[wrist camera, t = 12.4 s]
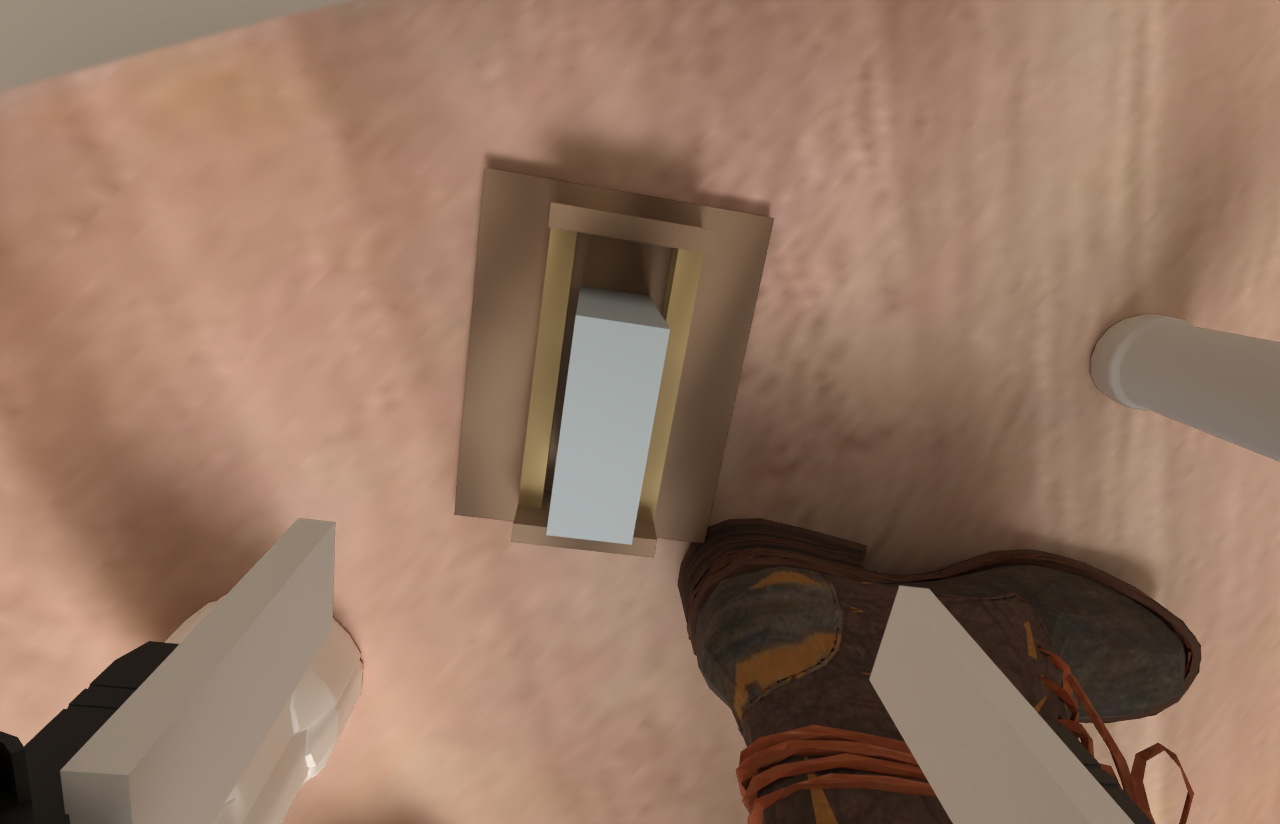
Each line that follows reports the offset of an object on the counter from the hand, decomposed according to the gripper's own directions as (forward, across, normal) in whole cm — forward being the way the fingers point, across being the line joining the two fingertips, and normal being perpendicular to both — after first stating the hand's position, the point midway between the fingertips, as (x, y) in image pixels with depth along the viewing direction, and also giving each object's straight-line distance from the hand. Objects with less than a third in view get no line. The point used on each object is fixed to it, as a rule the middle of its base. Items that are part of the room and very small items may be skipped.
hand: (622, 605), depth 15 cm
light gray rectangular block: (+20, 0, 0) cm, 20 cm away
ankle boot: (+21, -21, +12) cm, 32 cm away
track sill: (+21, 0, 0) cm, 21 cm away
